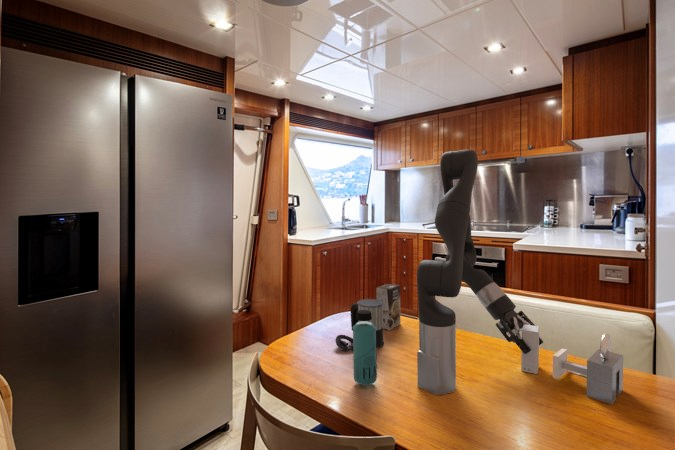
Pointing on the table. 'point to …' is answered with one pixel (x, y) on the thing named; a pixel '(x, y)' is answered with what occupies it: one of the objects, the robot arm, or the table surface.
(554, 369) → the gauge plunger
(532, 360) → the skincare box
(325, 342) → the table surface
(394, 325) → the coffee box
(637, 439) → the table surface
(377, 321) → the milk frother
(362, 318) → the beverage bottle
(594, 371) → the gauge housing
